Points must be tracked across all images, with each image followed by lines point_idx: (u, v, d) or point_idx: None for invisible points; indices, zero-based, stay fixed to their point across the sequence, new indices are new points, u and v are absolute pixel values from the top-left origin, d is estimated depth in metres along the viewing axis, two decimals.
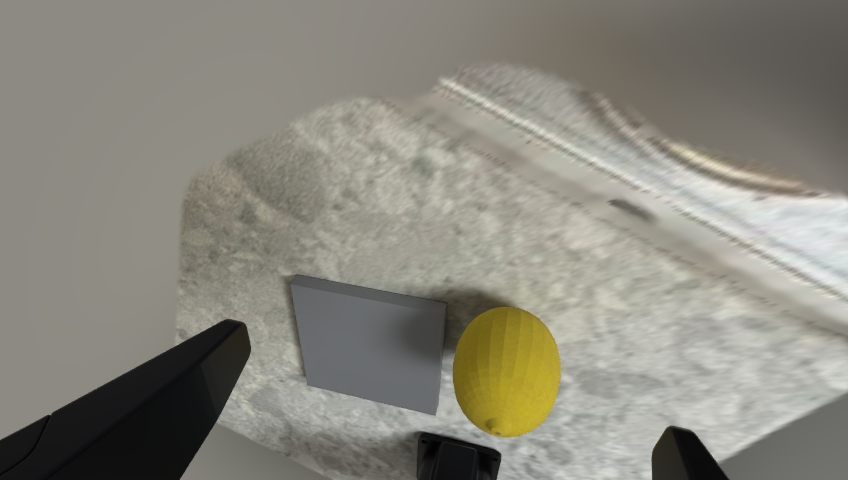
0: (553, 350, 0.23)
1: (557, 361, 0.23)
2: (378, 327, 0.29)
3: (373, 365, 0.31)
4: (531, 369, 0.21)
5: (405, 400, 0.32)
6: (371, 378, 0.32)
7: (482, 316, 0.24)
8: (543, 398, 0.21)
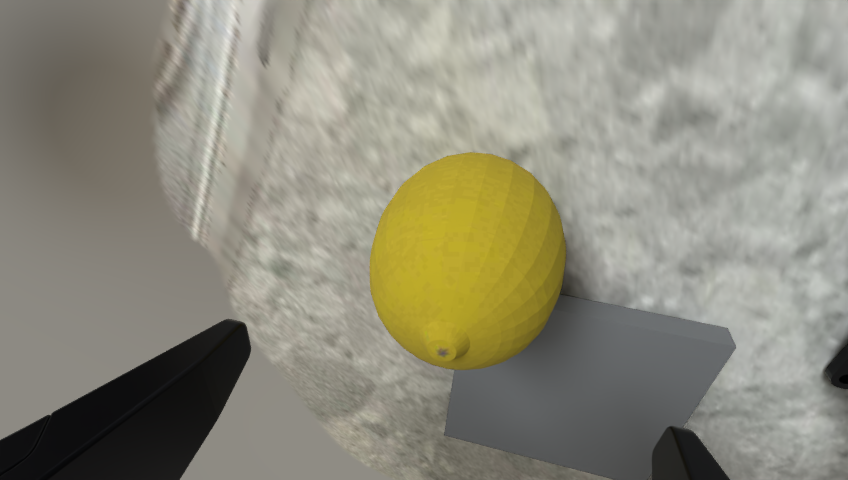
0: (415, 177, 0.13)
1: (428, 175, 0.12)
2: (505, 372, 0.20)
3: (590, 398, 0.20)
4: (378, 243, 0.12)
5: (684, 381, 0.18)
6: (623, 409, 0.20)
7: None
8: (412, 240, 0.11)
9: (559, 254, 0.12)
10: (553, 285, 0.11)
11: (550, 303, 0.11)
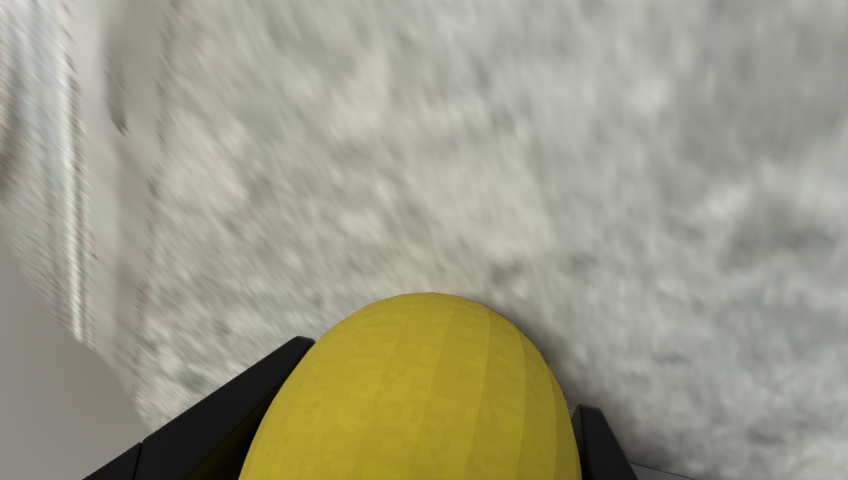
0: (316, 361, 0.07)
1: (333, 371, 0.07)
2: None
3: None
4: None
5: None
6: None
7: None
8: None
9: None
10: None
11: None
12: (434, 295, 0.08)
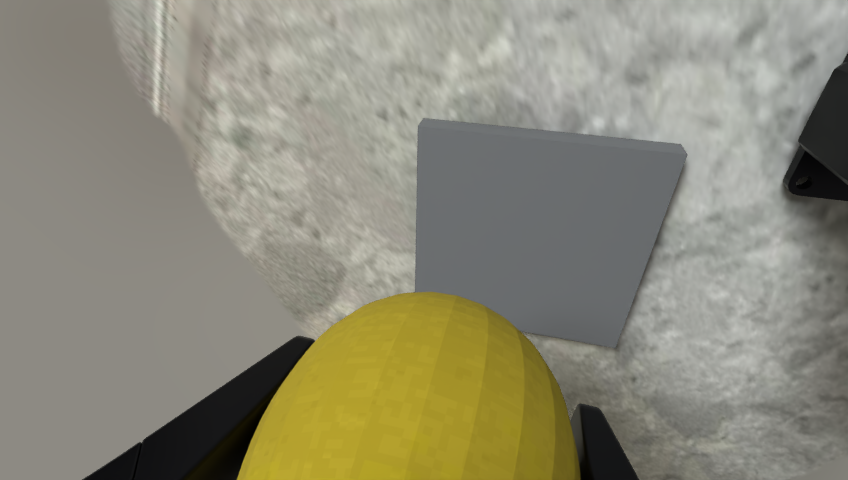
0: (314, 361, 0.07)
1: (331, 370, 0.07)
2: (465, 222, 0.20)
3: (551, 243, 0.19)
4: None
5: (641, 206, 0.18)
6: (585, 252, 0.19)
7: None
8: None
9: None
10: None
11: None
12: (433, 294, 0.08)
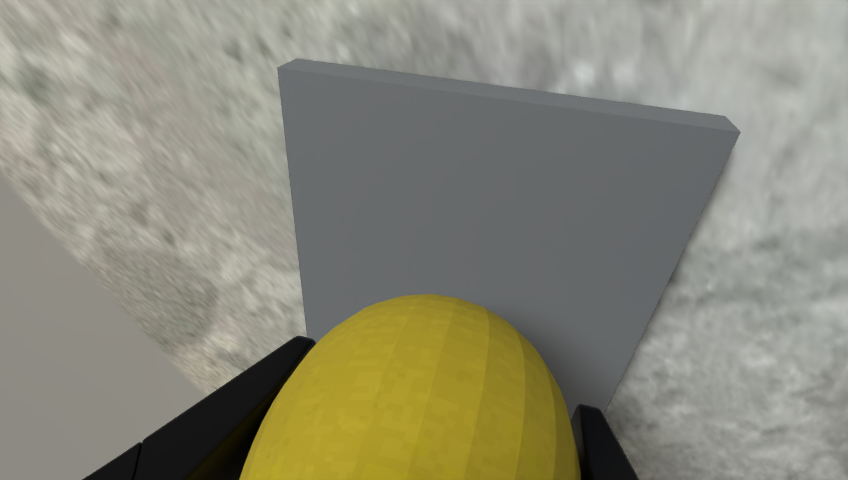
0: (315, 364, 0.07)
1: (333, 372, 0.07)
2: (369, 233, 0.12)
3: (502, 273, 0.12)
4: None
5: (650, 220, 0.10)
6: (555, 289, 0.12)
7: None
8: None
9: None
10: None
11: None
12: (434, 297, 0.08)
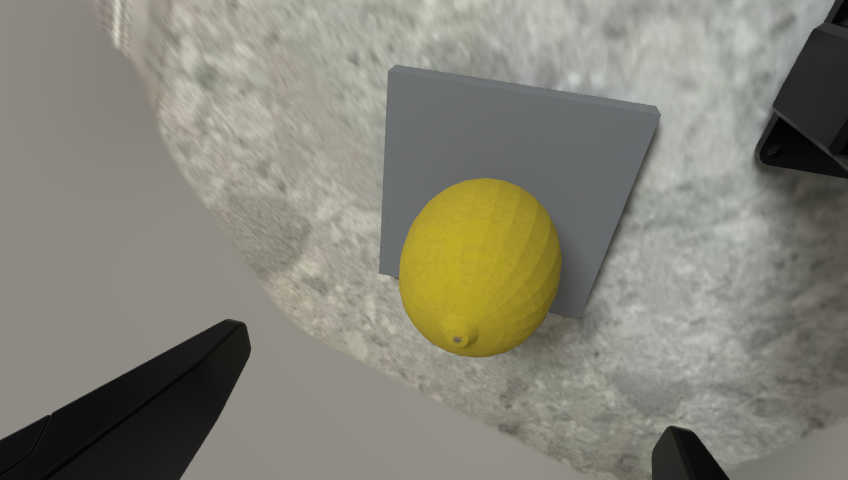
0: (439, 197, 0.15)
1: (450, 197, 0.15)
2: (434, 178, 0.19)
3: None
4: (408, 251, 0.14)
5: (612, 168, 0.17)
6: (553, 215, 0.19)
7: None
8: (436, 250, 0.13)
9: (554, 266, 0.14)
10: (548, 291, 0.14)
11: (545, 305, 0.14)
12: None
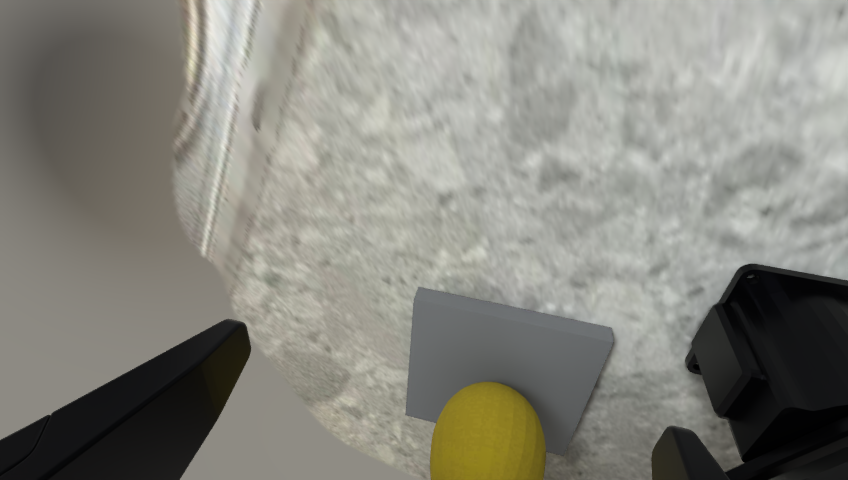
0: (456, 414, 0.21)
1: (464, 418, 0.21)
2: (448, 362, 0.25)
3: (514, 383, 0.25)
4: (436, 462, 0.21)
5: (581, 368, 0.23)
6: (539, 391, 0.25)
7: None
8: (458, 473, 0.19)
9: (540, 469, 0.20)
10: None
11: None
12: (492, 385, 0.23)
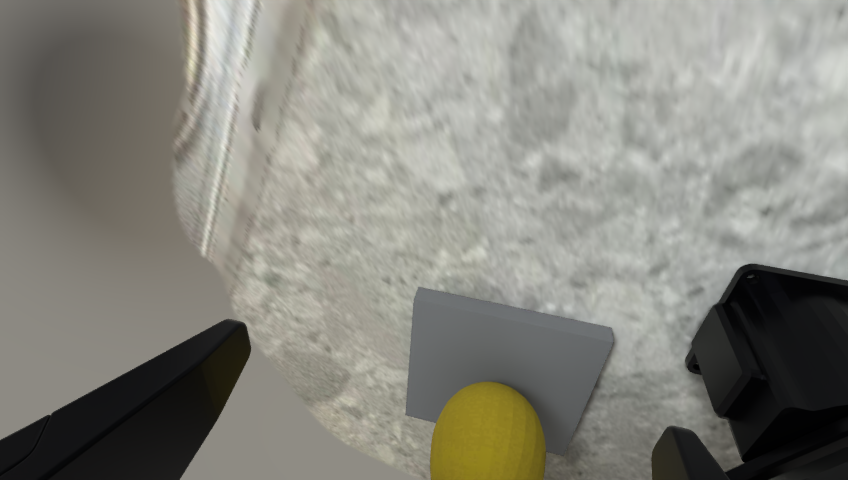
0: (456, 414, 0.21)
1: (464, 418, 0.21)
2: (448, 362, 0.25)
3: (514, 383, 0.25)
4: (436, 462, 0.21)
5: (581, 368, 0.23)
6: (539, 391, 0.25)
7: None
8: (458, 473, 0.19)
9: (540, 468, 0.20)
10: None
11: None
12: (491, 385, 0.23)
